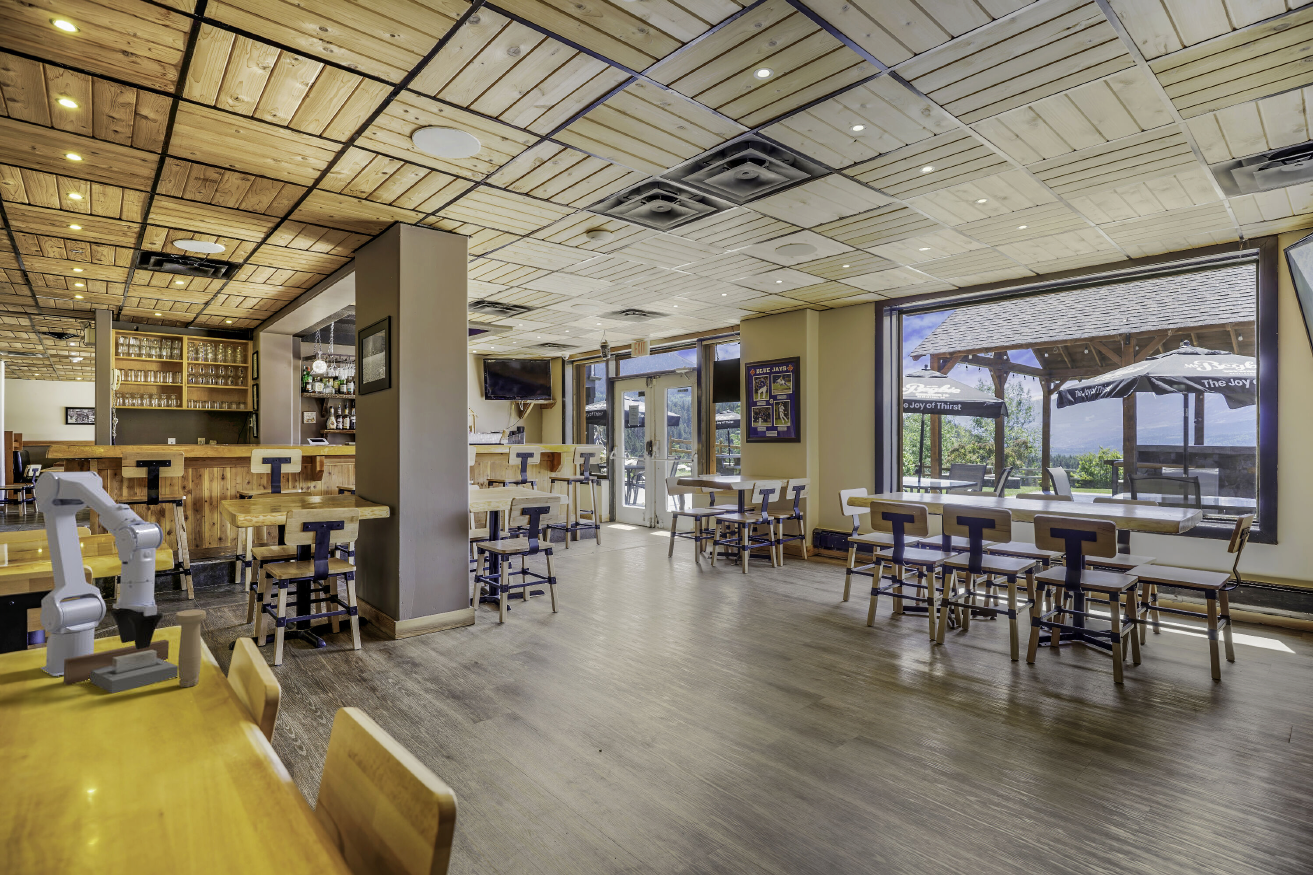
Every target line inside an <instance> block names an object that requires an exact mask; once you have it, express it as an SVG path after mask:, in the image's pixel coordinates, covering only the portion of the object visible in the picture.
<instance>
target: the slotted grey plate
mask: <svg viewBox="0 0 1313 875" xmlns="http://www.w3.org/2000/svg"><path fill="white" fill-rule="evenodd" d="M176 676H177V677H178V676H179V670H178V664H177V665H176V664H173V663H171V662H169V661H168V662H167V661H164V660H162V659H159V658H157V657H156V666H152V667H148V668H143V669H139V670H134V671H130V672H125V673H121V674H116V675H112V666H108V667H103V668H99V669H94V670H91V673H90V680H89V682H90V683H91V682H92V683H91V684H93V685H95V686H97V687H98V688H100V687H101V689H102V690H104V689H105V690H104V691H106V692H108V693H110V694H115V693H119V692H123V691H127V690H132V689H135V688H140V686H141V687H144V686H143V685H145V686H149V685H152V684H151V683H153V684H156V683H155V682H157V683H160V682H159V681H162V680H166V679H169V678H173V677H176ZM166 681H167V680H166ZM162 682H163V681H162ZM148 684H149V685H148Z"/></svg>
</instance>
